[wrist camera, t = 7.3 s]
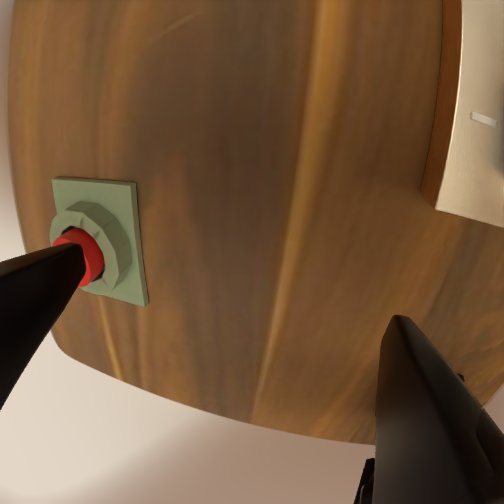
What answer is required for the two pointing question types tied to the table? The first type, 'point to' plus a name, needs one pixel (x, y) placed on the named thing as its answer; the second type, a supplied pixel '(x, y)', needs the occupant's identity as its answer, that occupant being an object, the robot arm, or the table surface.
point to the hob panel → (469, 114)
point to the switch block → (105, 232)
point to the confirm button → (85, 252)
